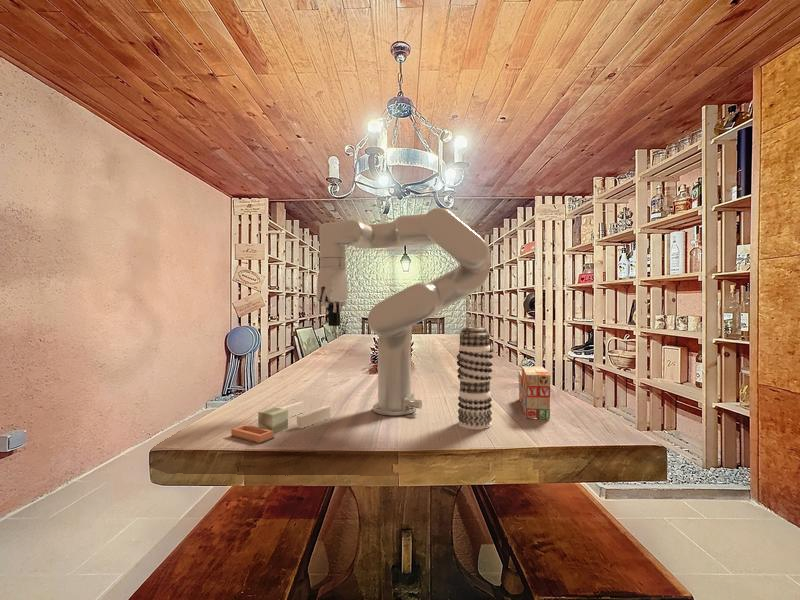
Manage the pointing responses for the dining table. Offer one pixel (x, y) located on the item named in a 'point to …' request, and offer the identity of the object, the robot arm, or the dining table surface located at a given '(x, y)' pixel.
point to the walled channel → (307, 414)
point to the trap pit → (252, 434)
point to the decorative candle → (474, 378)
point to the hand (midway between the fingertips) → (334, 325)
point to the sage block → (273, 419)
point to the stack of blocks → (535, 392)
